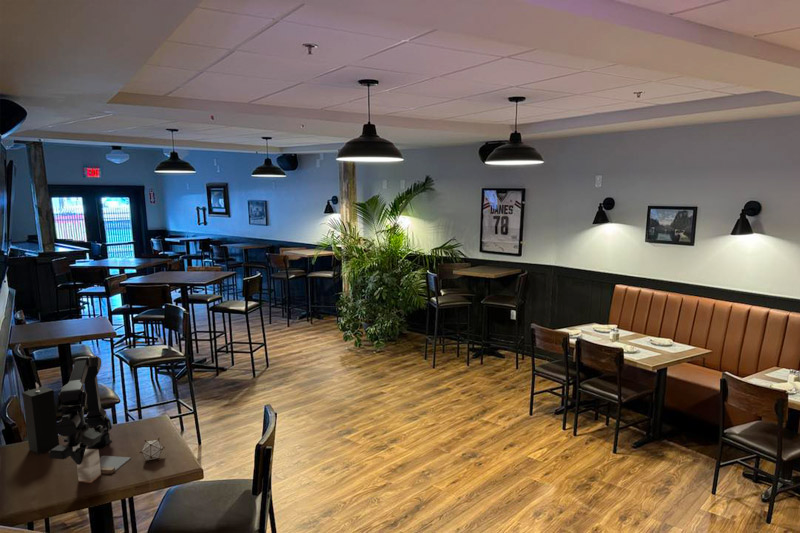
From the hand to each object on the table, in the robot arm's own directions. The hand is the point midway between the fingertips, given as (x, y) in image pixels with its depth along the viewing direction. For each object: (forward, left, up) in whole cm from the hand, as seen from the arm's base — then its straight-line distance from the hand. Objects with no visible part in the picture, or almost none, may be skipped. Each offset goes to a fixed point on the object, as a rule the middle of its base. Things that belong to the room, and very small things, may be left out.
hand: (79, 464), depth 178 cm
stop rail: (0, +8, -8) cm, 12 cm away
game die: (+15, +19, -8) cm, 26 cm away
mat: (0, +14, -8) cm, 16 cm away
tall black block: (-34, +21, -8) cm, 41 cm away
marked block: (0, +4, -8) cm, 9 cm away
